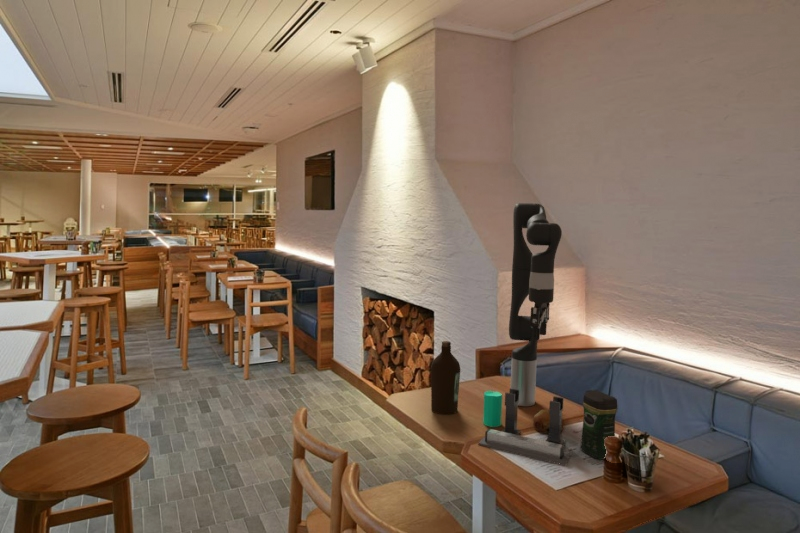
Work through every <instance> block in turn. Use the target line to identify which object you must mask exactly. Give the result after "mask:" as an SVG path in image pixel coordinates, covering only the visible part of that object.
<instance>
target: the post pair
mask: <svg viewBox="0 0 800 533" xmlns="http://www.w3.org/2000/svg"><path fill="white" fill-rule="evenodd" d="M564 399H565V398H564V397H562V396H561V397H560V396H554V395H553V396H552V400H550V401H549V407H548V408H549V409H548V410H549V414H550V425H549V434H548V436H547V438H546V439H545V441H547V442H551V443H556V444H560V445H565V441H566V440H565V439H562V431H561V424H562V419H563V411H564ZM518 402H519V390H517V389H511V387H509V392H505V393H504V406H505V417H504V418H505V420H504V422H505V423H504V428H503V429H502V430H501V432H506V433H510V434H515V435H520V434H521V432H522V431H521V429H518V427H517V426H518V412H519V411H518V410H519V408H518Z"/></svg>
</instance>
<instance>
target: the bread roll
mask: <svg viewBox="0 0 800 533" xmlns="http://www.w3.org/2000/svg"><path fill="white" fill-rule="evenodd" d="M532 420H533V422H532V423H533V428H534V429H535V431H537V432H538V433H539V432H540V433H541V434H542V433H543V434H548V435H549V425H550V414H549V409H540V411H538V412H537V413H536V414H534V415H533V419H532ZM564 427H565V423H564V420H563V418H562V424H561V432H562V431H563V430H564Z"/></svg>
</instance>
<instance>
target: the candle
mask: <svg viewBox="0 0 800 533" xmlns="http://www.w3.org/2000/svg"><path fill="white" fill-rule="evenodd" d="M502 409H503V394H502V393H501V392H500V391H494V388H493V389H492V390H487V391H484V393H483V416H482V417H483V418H482V422H483V425H485V426H486V427H491V428H497V427H501V425H502V413H503V412H502Z"/></svg>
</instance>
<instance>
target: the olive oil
mask: <svg viewBox="0 0 800 533" xmlns="http://www.w3.org/2000/svg"><path fill="white" fill-rule="evenodd" d="M451 344H452V342H451V341H446V340H443V341H441V346H440V347H441V349H440V350H441V352H440V353H439V354H438V355H437V356H436V357H435V358H434V359H433V360H432V362H431V364H430V365H431V366H430V387H431V388H430V390H431V394H430V395H431V401H430V402H431V404H430V405H431V411H432V412H434V413H435V412H436V414H439V415H453V414H456V413H457V412H458V406H459V405H458V404H459V392H460V380H461V365H460V361H458V359H457V357H455V356H454V354H452V352H451V351H452V350H451V349H452V346H451Z"/></svg>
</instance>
